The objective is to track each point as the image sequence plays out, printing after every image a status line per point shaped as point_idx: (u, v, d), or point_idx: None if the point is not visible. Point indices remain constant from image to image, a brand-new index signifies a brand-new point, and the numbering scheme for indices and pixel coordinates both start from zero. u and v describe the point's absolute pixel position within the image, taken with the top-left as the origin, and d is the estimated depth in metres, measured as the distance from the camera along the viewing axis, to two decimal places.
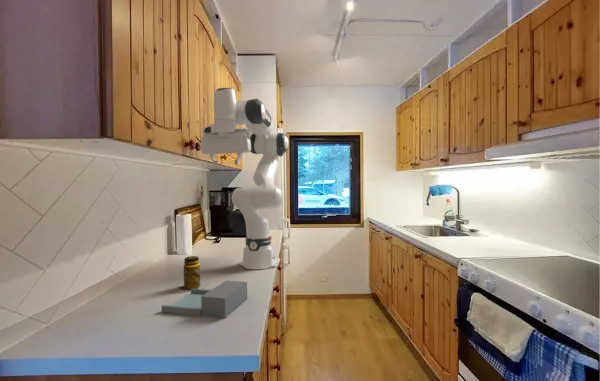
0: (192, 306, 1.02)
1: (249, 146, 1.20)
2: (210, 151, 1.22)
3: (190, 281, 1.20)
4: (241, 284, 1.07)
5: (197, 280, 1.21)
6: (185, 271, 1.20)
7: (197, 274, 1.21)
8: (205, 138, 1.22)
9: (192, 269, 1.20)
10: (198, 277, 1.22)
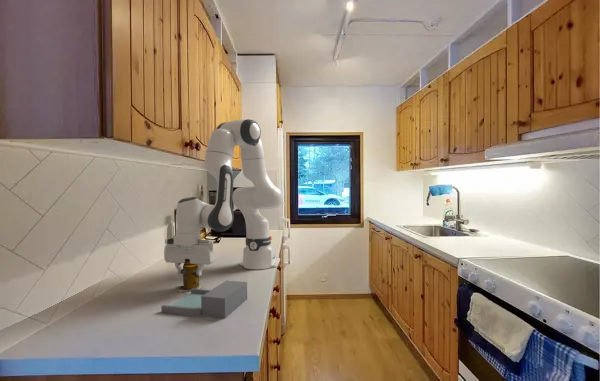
0: (192, 306, 1.02)
1: (212, 258, 1.19)
2: (173, 261, 1.22)
3: (189, 280, 1.20)
4: (241, 284, 1.07)
5: (196, 280, 1.21)
6: (184, 271, 1.20)
7: None
8: (168, 248, 1.22)
9: (191, 269, 1.20)
10: (197, 277, 1.22)
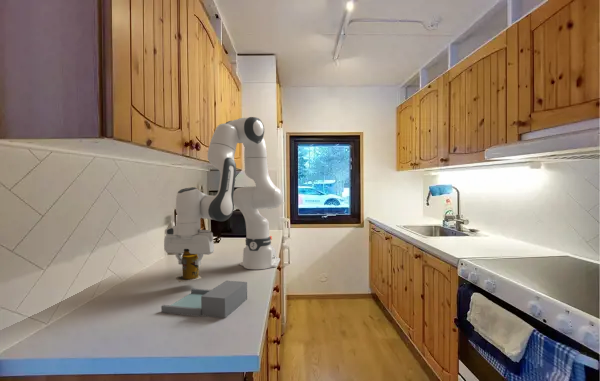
0: (192, 306, 1.02)
1: (211, 248, 1.19)
2: (173, 251, 1.22)
3: (188, 270, 1.20)
4: (241, 284, 1.07)
5: (195, 270, 1.21)
6: (183, 261, 1.20)
7: None
8: (168, 238, 1.22)
9: (190, 259, 1.20)
10: (197, 267, 1.22)
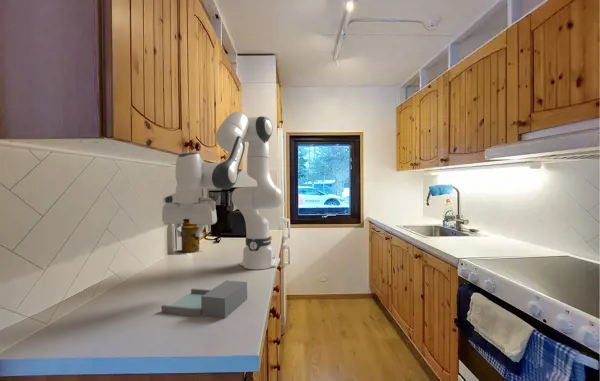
0: (192, 306, 1.02)
1: (214, 218, 1.09)
2: (172, 222, 1.11)
3: (188, 243, 1.09)
4: (241, 284, 1.07)
5: (196, 243, 1.10)
6: (183, 232, 1.09)
7: None
8: (166, 207, 1.11)
9: (190, 230, 1.09)
10: (197, 239, 1.11)
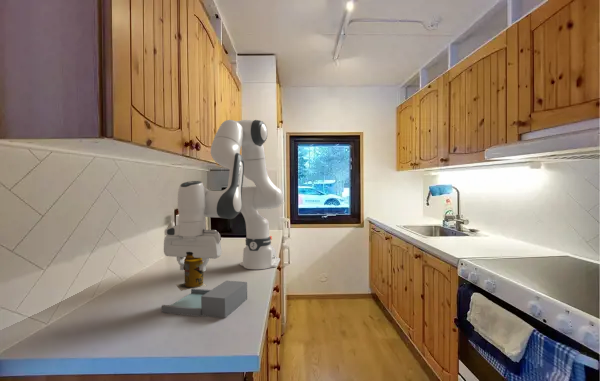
0: (192, 306, 1.02)
1: (219, 251, 1.03)
2: (174, 254, 1.05)
3: (191, 277, 1.03)
4: (241, 284, 1.07)
5: (200, 277, 1.05)
6: (186, 266, 1.04)
7: None
8: (168, 239, 1.05)
9: (194, 264, 1.03)
10: (201, 273, 1.05)
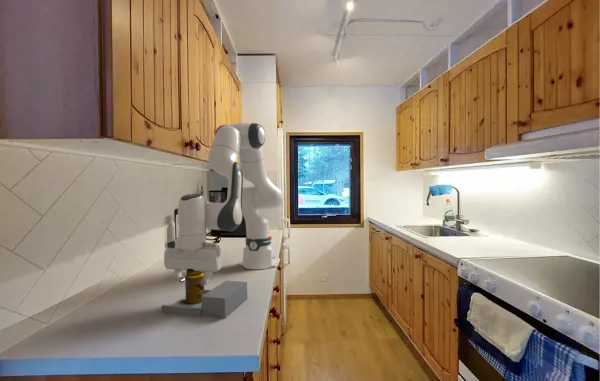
0: (192, 306, 1.02)
1: (219, 264, 1.03)
2: (174, 267, 1.06)
3: (193, 294, 1.04)
4: (241, 284, 1.07)
5: (201, 293, 1.05)
6: (187, 282, 1.04)
7: (201, 286, 1.05)
8: (169, 252, 1.05)
9: (195, 280, 1.04)
10: (202, 289, 1.06)
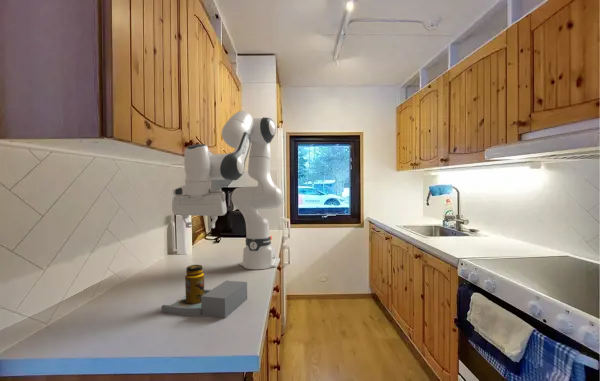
0: (192, 306, 1.02)
1: (224, 209, 1.10)
2: (182, 213, 1.13)
3: (193, 294, 1.04)
4: (241, 284, 1.07)
5: (201, 293, 1.05)
6: (187, 282, 1.04)
7: (201, 286, 1.05)
8: (176, 199, 1.12)
9: (195, 280, 1.04)
10: (202, 289, 1.06)
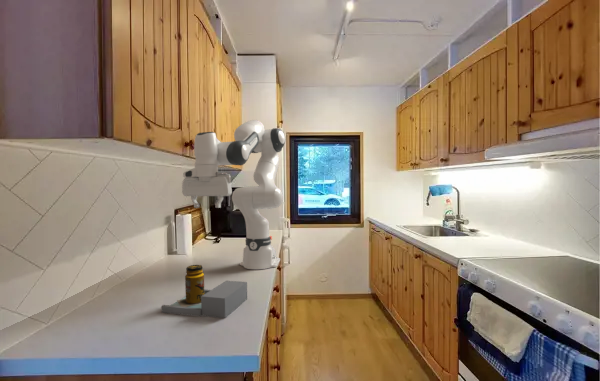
0: (192, 306, 1.02)
1: (229, 190, 1.21)
2: (191, 194, 1.24)
3: (193, 294, 1.04)
4: (241, 284, 1.07)
5: (201, 293, 1.05)
6: (187, 282, 1.04)
7: (201, 286, 1.05)
8: (186, 181, 1.24)
9: (195, 280, 1.04)
10: (202, 289, 1.06)
